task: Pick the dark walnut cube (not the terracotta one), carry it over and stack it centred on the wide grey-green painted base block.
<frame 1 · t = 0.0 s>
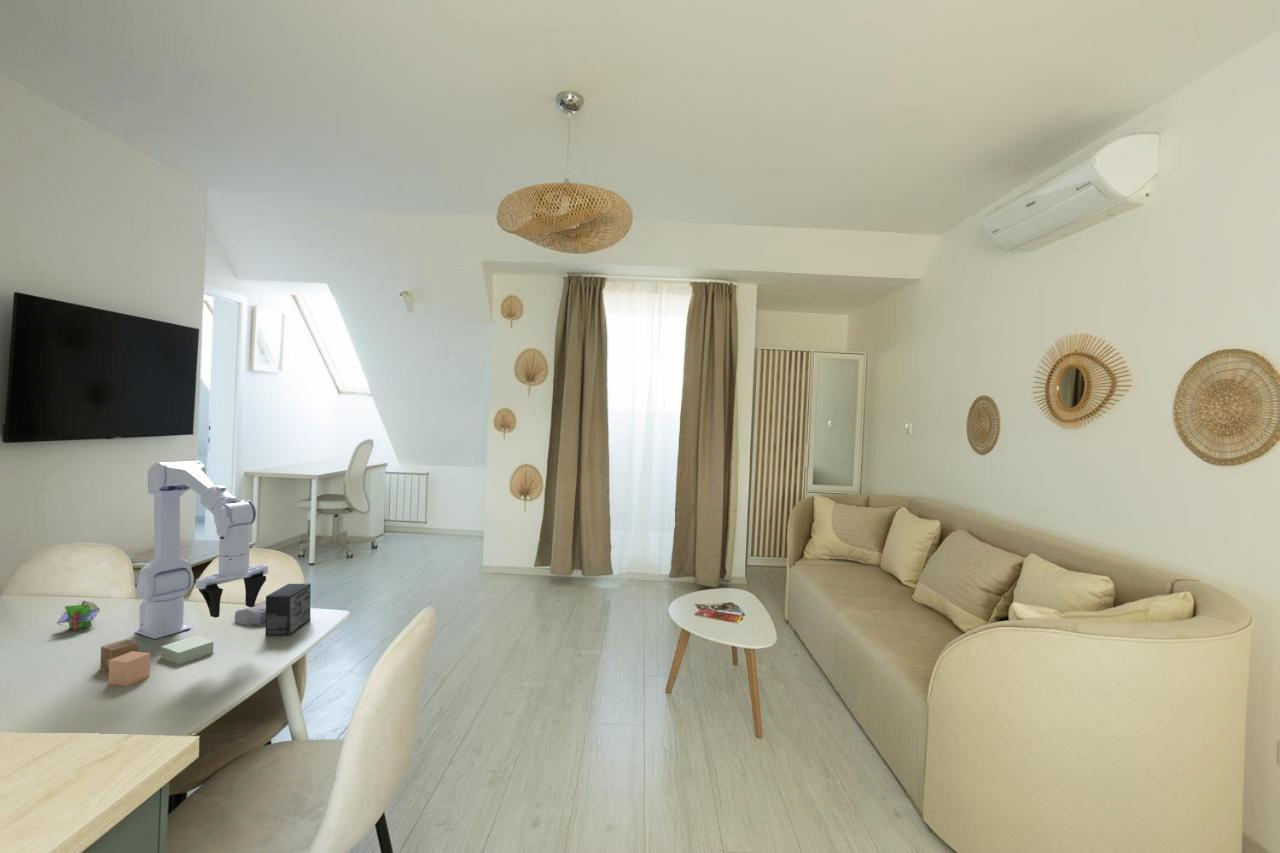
hand: (232, 611, 129), 10 cm above the table, fingers open, 7 cm apart
walnut block: (118, 667, 121), on the table
stone block: (262, 618, 153), on the table
small box: (288, 629, 145), on the table
geometric puzzle: (78, 629, 140), on the table
base block: (187, 656, 127), on the table
terracotta block: (129, 680, 115), on the table
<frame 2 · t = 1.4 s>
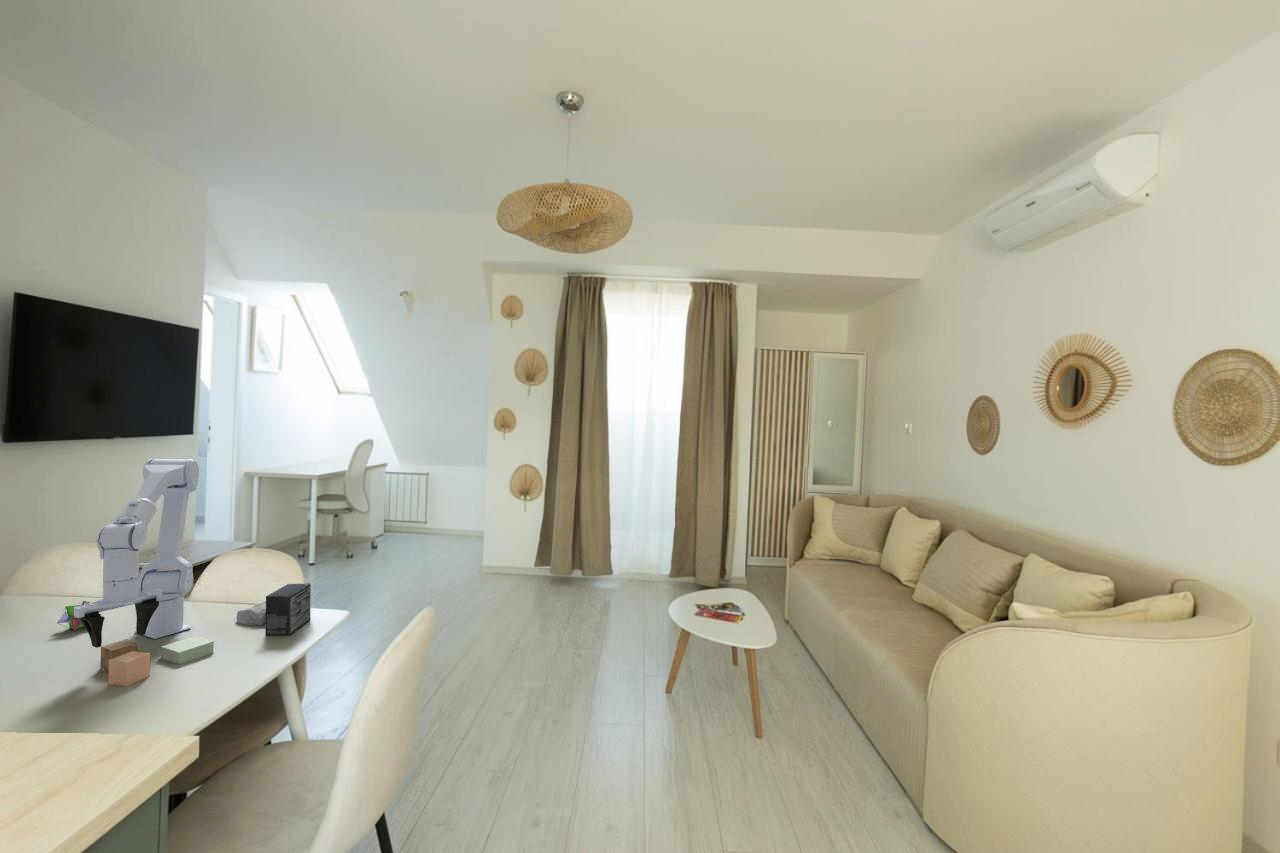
hand: (119, 640, 121), 6 cm above the table, fingers open, 7 cm apart
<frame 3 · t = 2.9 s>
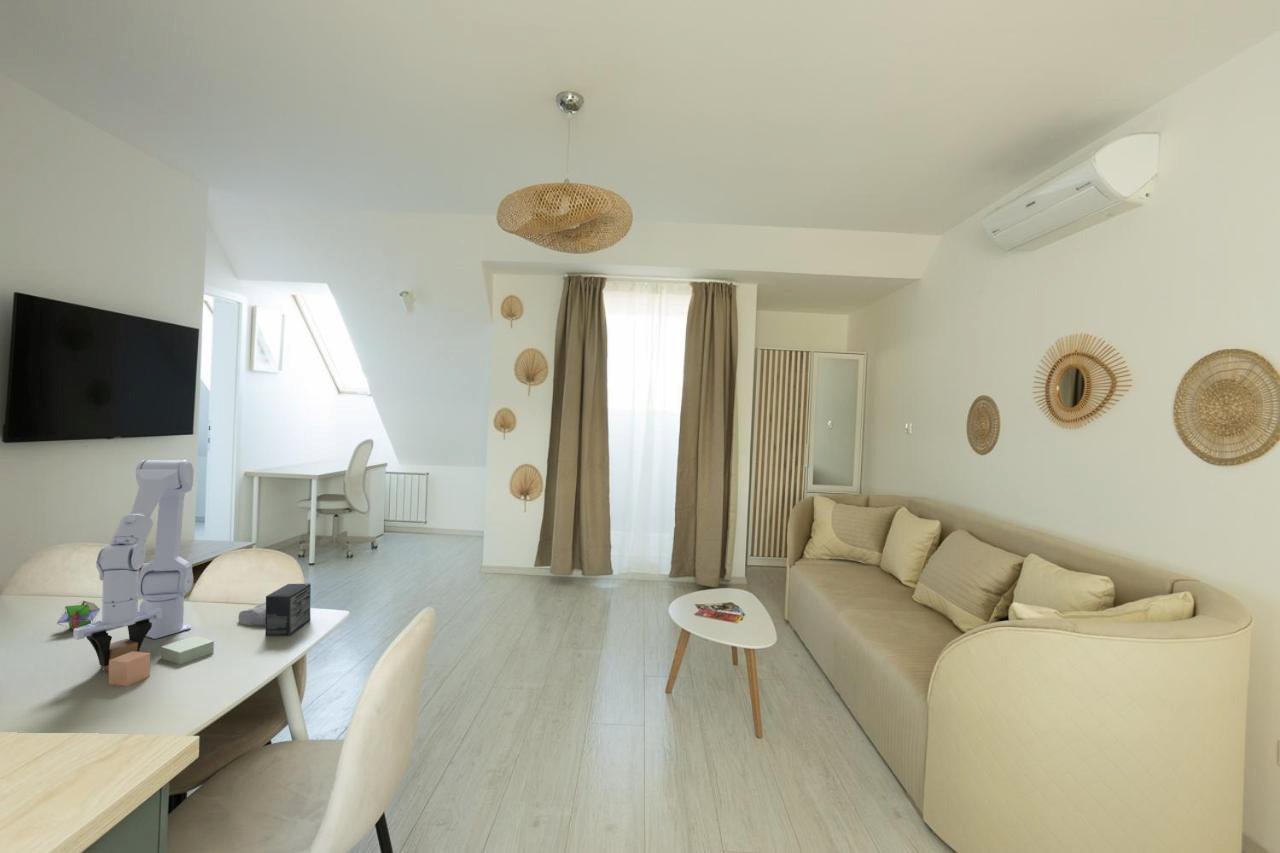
hand: (119, 660, 121), 1 cm above the table, fingers closed on walnut block, 4 cm apart
walnut block: (119, 666, 121), on the table, touching gripper
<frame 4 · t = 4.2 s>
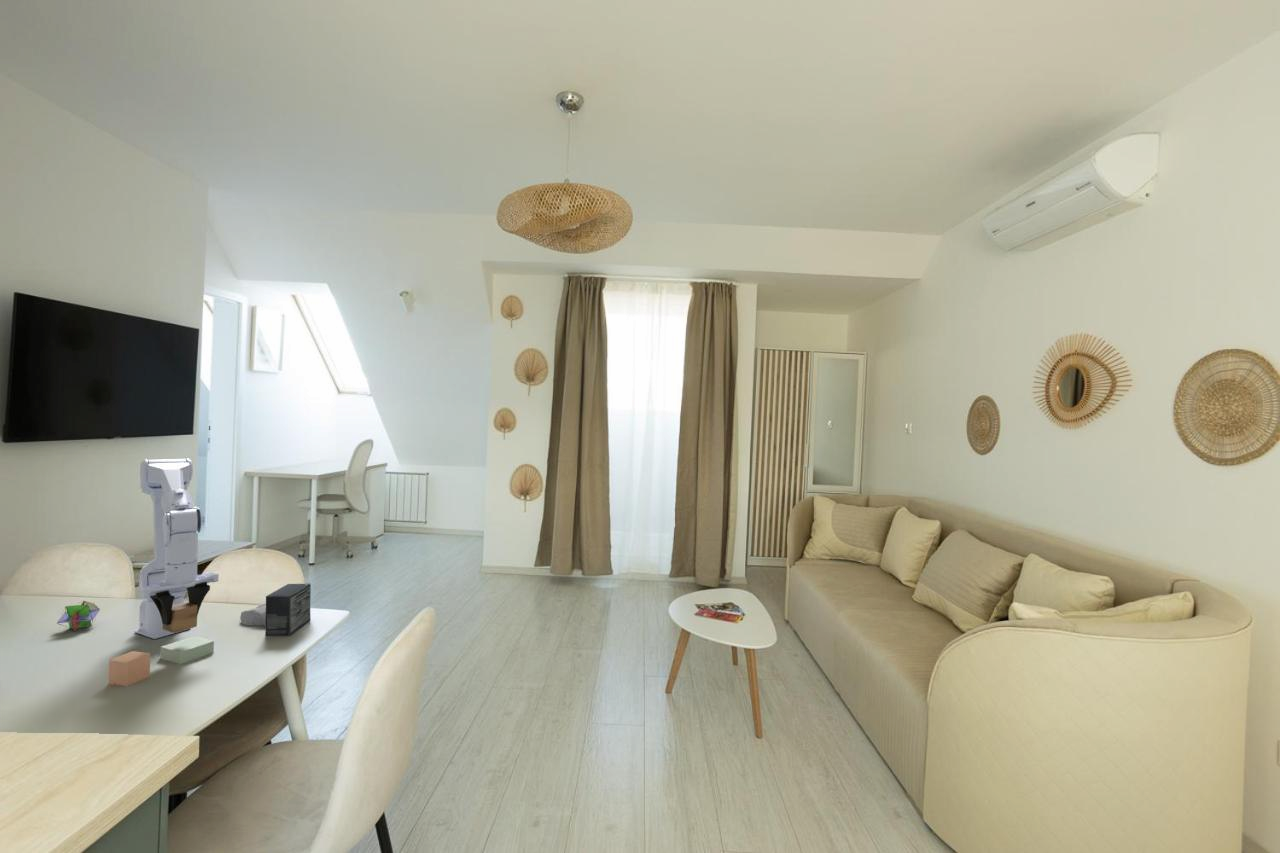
hand: (180, 620, 126), 8 cm above the table, fingers closed on walnut block, 4 cm apart
walnut block: (179, 627, 126), point 7 cm above the table, touching gripper
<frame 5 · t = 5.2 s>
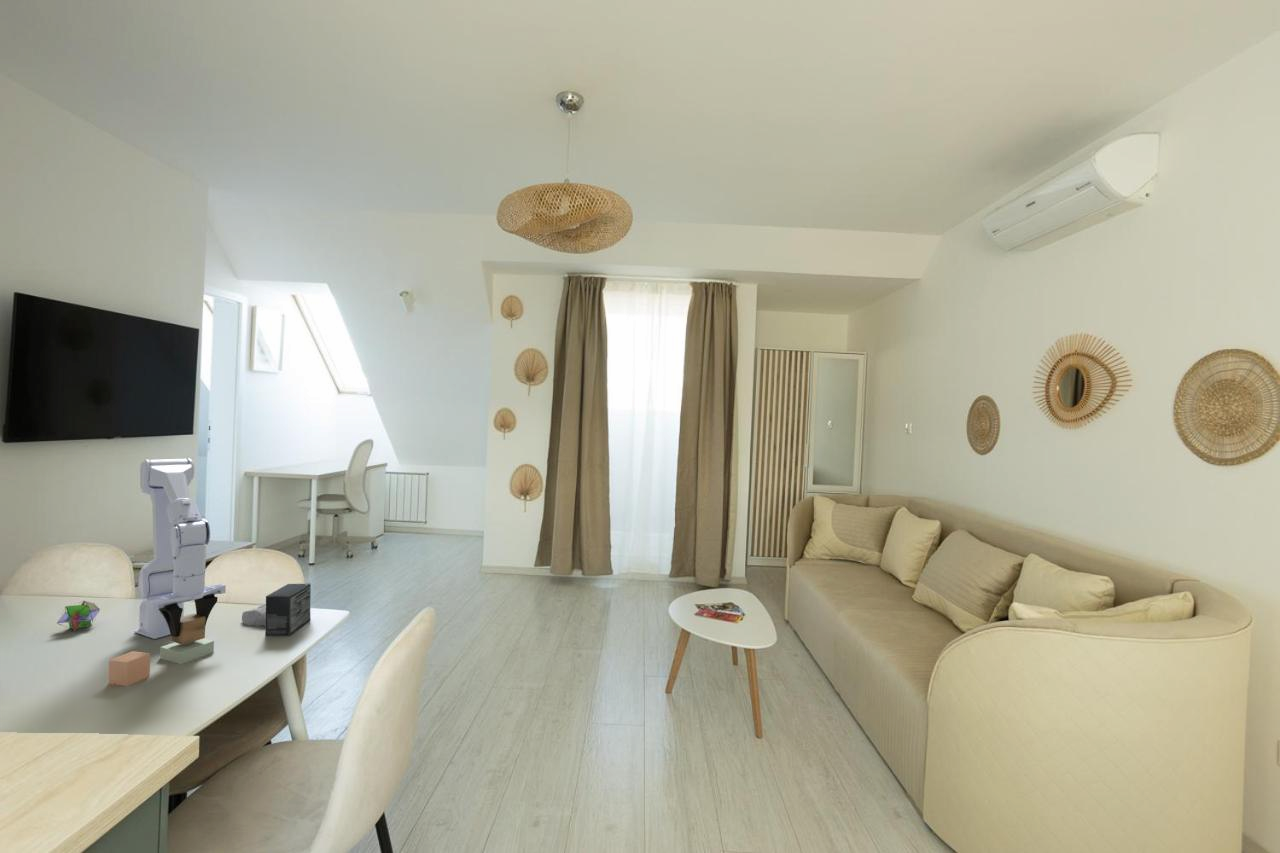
hand: (187, 632, 127), 5 cm above the table, fingers closed on walnut block, 4 cm apart
walnut block: (187, 639, 127), point 4 cm above the table, touching gripper
when the fingers open (5 cm above the table, at t = 6.0 s): walnut block drops 1 cm, resting on base block.
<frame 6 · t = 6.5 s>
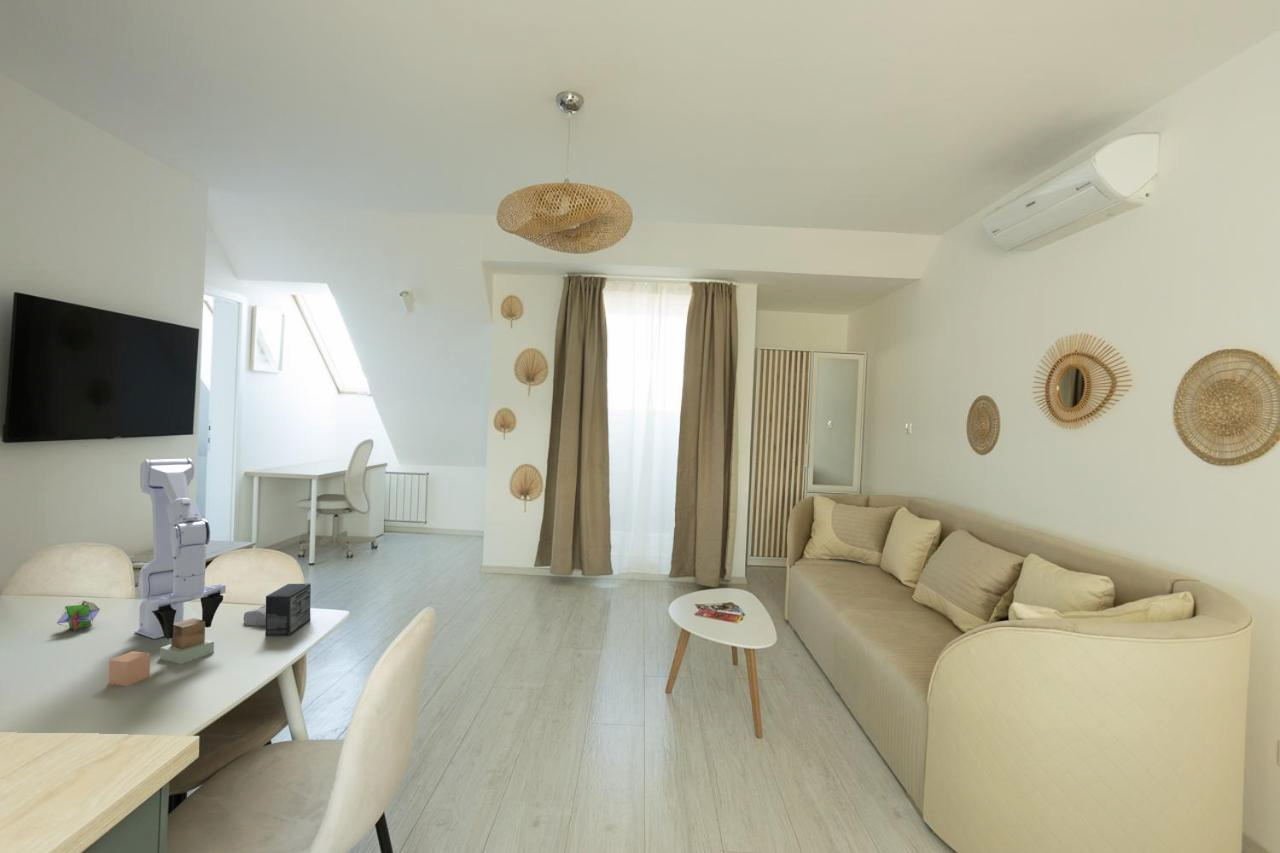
hand: (187, 632, 127), 5 cm above the table, fingers open, 7 cm apart
walnut block: (188, 644, 128), point 3 cm above the table, touching base block
base block: (187, 657, 127), on the table, touching walnut block
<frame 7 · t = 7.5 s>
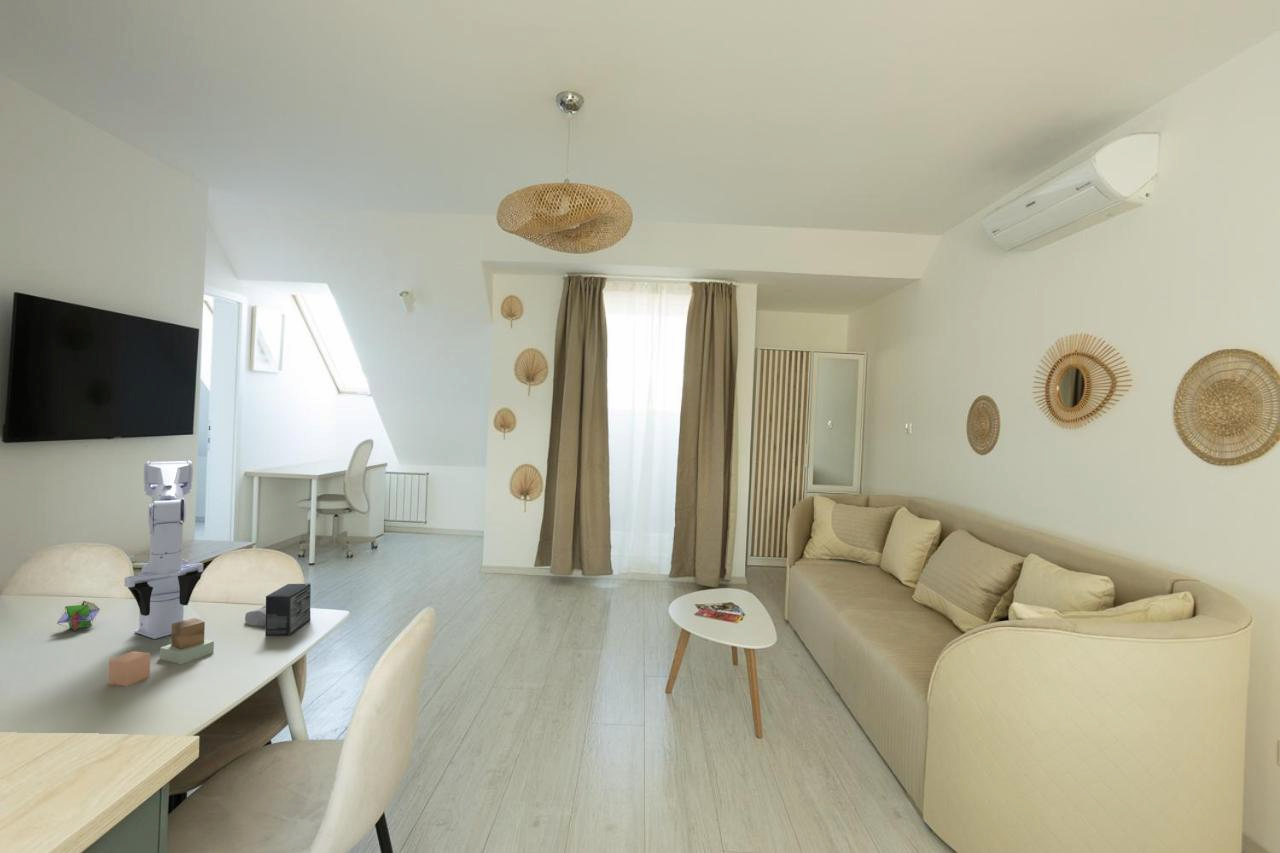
hand: (165, 609, 128), 10 cm above the table, fingers open, 7 cm apart
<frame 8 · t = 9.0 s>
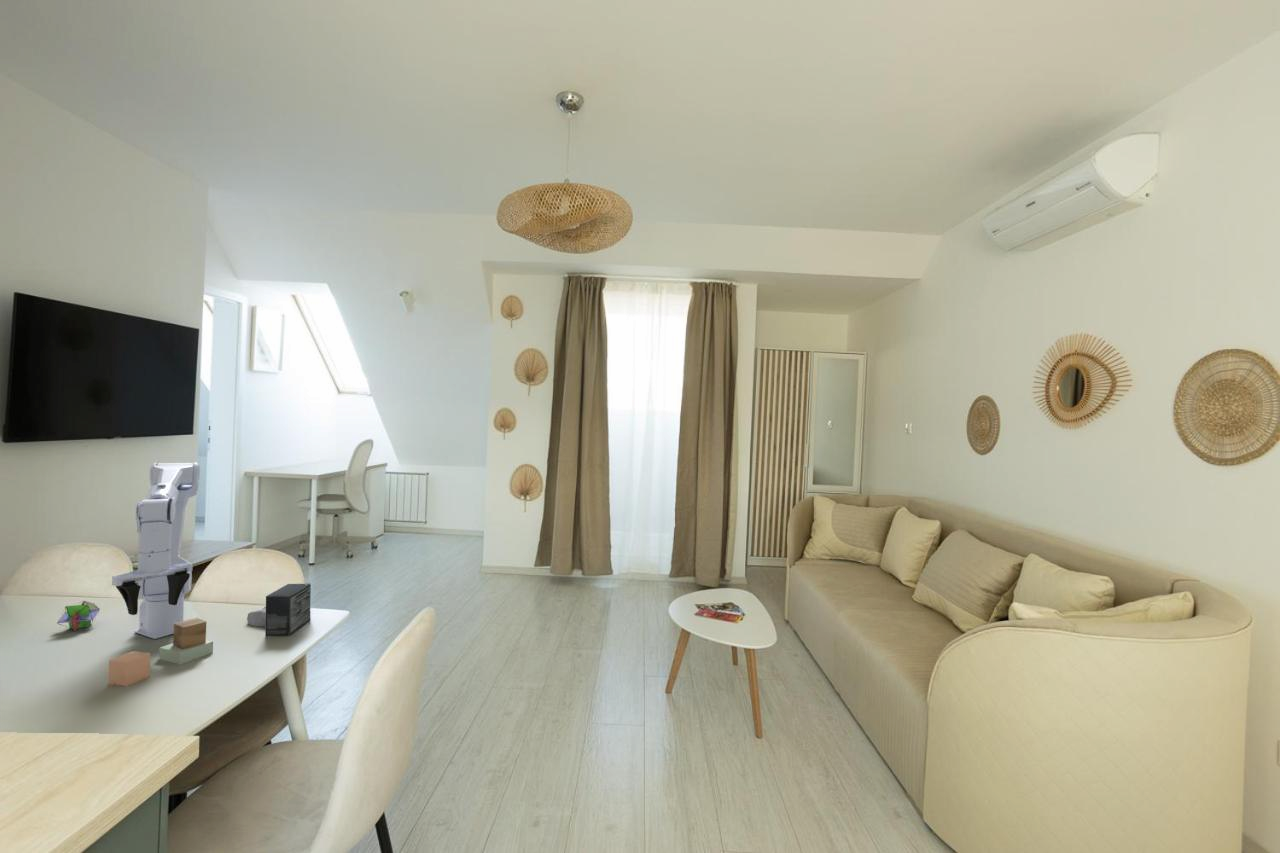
hand: (153, 609, 127), 10 cm above the table, fingers open, 7 cm apart
at the end: walnut block 0.4 cm off-centre on the base block, point 3.0 cm above the base block's base; walnut block tilted 0°; the gripper is holding nothing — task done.
